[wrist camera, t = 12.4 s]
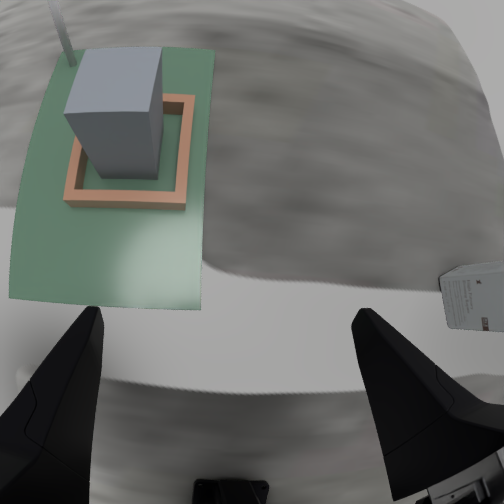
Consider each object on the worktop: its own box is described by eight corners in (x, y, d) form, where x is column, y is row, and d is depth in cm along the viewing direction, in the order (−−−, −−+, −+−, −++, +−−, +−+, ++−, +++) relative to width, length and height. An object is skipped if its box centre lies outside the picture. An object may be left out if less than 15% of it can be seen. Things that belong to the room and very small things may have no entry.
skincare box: (436, 277, 29) (532, 266, 17) (459, 264, 30) (547, 250, 18) (447, 331, 29) (539, 336, 17) (469, 314, 30) (555, 314, 18)
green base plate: (200, 310, 23) (219, 325, 12) (10, 298, 20) (-79, 297, 9) (215, 45, 26) (237, -42, 16) (65, 47, 23) (42, -32, 12)
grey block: (157, 180, 23) (148, 111, 14) (101, 178, 22) (63, 113, 13) (163, 128, 24) (162, 47, 14) (110, 127, 23) (85, 49, 13)
